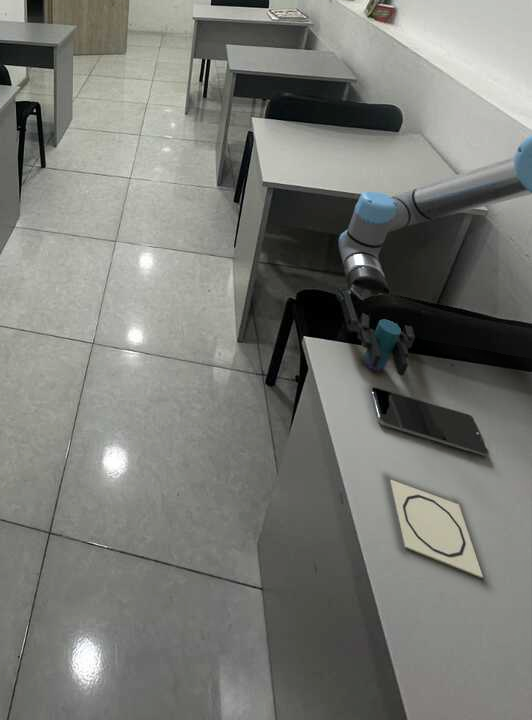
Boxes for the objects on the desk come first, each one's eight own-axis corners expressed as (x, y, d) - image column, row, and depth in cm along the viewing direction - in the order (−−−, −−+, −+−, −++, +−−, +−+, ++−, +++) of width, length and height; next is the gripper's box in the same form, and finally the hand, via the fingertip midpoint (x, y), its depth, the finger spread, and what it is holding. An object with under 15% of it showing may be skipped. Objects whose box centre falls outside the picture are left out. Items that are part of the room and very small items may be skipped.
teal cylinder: (381, 360, 93) (398, 322, 89) (385, 375, 90) (403, 337, 86) (361, 354, 94) (377, 316, 90) (364, 369, 91) (381, 330, 87)
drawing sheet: (458, 505, 71) (459, 504, 70) (482, 578, 63) (483, 577, 63) (389, 480, 73) (390, 479, 73) (404, 547, 65) (405, 546, 65)
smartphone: (370, 385, 87) (472, 414, 83) (368, 389, 87) (470, 418, 83) (380, 422, 81) (491, 456, 76) (378, 426, 81) (489, 460, 77)
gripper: (402, 304, 105) (435, 396, 84) (320, 282, 109) (332, 364, 89) (414, 277, 102) (451, 366, 81) (329, 256, 106) (344, 334, 86)
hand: (389, 365), depth 85 cm, fingers closed on teal cylinder, 4 cm apart
